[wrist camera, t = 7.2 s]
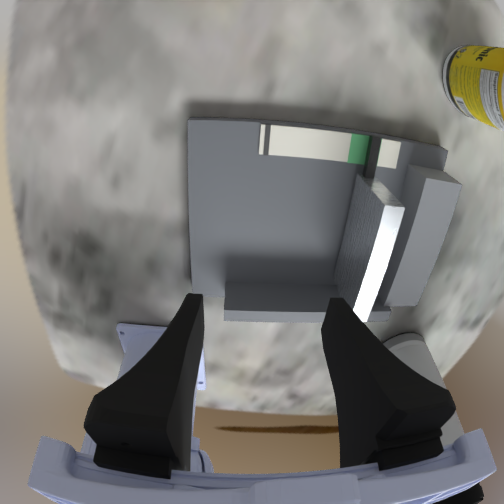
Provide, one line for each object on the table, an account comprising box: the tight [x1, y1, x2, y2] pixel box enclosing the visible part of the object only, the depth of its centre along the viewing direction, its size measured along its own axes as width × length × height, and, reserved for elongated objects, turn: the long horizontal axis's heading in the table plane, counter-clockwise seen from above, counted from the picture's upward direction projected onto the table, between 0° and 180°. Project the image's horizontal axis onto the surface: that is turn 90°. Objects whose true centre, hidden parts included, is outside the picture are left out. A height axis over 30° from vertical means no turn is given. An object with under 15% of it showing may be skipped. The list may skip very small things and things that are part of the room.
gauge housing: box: [188, 117, 462, 323], centre depth 20 cm, size 13×17×4 cm
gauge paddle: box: [334, 135, 405, 322], centre depth 18 cm, size 11×1×5 cm, turn 176°
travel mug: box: [383, 333, 484, 504], centre depth 23 cm, size 6×7×20 cm
